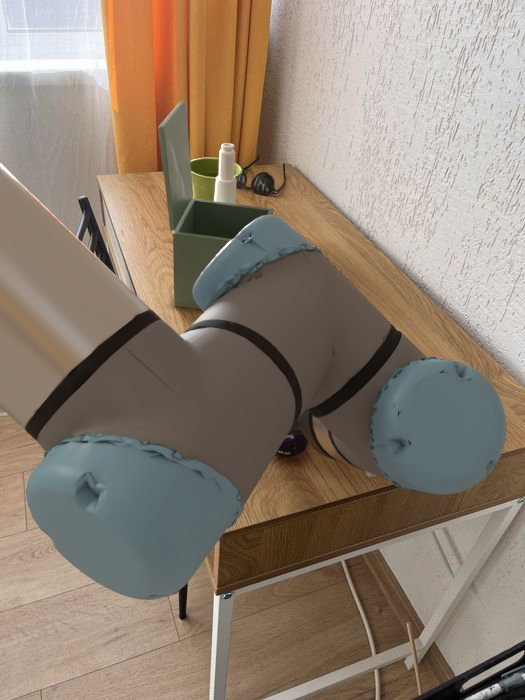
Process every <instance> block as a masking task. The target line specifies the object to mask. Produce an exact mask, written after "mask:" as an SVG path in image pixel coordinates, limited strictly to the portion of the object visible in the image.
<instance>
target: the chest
mask: <svg viewBox="0 0 525 700" xmlns="http://www.w3.org/2000/svg"><path fill="white" fill-rule="evenodd" d="M263 215H274V208H269V207H260V206H253V205H246V204H238V203H236V204H232V203H224V202H216V201H209V200H201V199H194V197H192V199H191V201H190V203H189V205H188V206H187V208H186V210H185V212H184V214H183V216H182V218H181V220H180V222H179V224H178V226H177V228H176V230H175V231H174V230H173V232H172V259H173V260H172V261H173V263H172V267H173V306H174V307H180V308H187V309H195V310H201V311H202V309H201V308H200V307H199V306H198V304H197V303H196V302H195V300H194V298H193V287H194V284H195V282H196V280H197V279H198V277H199V276H200V275H201V273H202V272H203V270H204V269H205V268H206V267H207V266H208V264H209V263H210V262H211V261H212V260H213V259H214V257H215V256H216V255H217V254H218V253H219V252H220V251H221V250H222V249H223V248H224V247H225V246H226V245H227V244H228V243H229V242H230V241H231V240H232V239H233V238H235V237H236V236H237V234H238V233H239V232H240V231H241V230H242V229H243V228H244V227H245V226H247V225H248V224H249V223H251V222H252V221H253V220H255V219H256V218H258V217H260V216H263Z"/></svg>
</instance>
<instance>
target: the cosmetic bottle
mask: <svg viewBox="0 0 525 700" xmlns="http://www.w3.org/2000/svg"><path fill="white" fill-rule="evenodd" d="M218 156H219V157H218V158H219V175H218V176H217V177H216V186H215V197H214V201H216V202H224V203H232V204H237V184H236V178H235V177H234V170H235V163H236V150H235V145H234V144H233V143H230V142H223V143H222V144H221V147H220V150H219V155H218Z"/></svg>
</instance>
